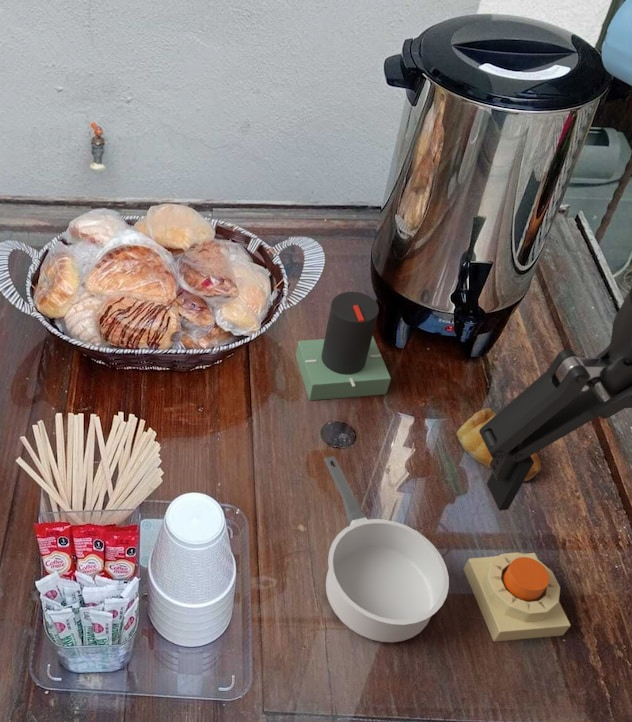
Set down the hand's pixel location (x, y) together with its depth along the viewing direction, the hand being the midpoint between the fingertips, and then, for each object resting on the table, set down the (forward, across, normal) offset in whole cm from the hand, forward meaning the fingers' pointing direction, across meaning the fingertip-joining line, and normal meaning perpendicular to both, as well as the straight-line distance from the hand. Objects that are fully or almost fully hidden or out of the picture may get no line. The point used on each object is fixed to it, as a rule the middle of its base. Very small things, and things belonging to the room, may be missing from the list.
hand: (575, 490), depth 66 cm
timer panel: (+19, -9, +32) cm, 39 cm away
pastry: (+19, +6, +19) cm, 27 cm away
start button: (+15, 0, 0) cm, 15 cm away
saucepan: (+19, -14, +6) cm, 24 cm away
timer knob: (+16, -9, +33) cm, 37 cm away
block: (+19, 0, 0) cm, 19 cm away
